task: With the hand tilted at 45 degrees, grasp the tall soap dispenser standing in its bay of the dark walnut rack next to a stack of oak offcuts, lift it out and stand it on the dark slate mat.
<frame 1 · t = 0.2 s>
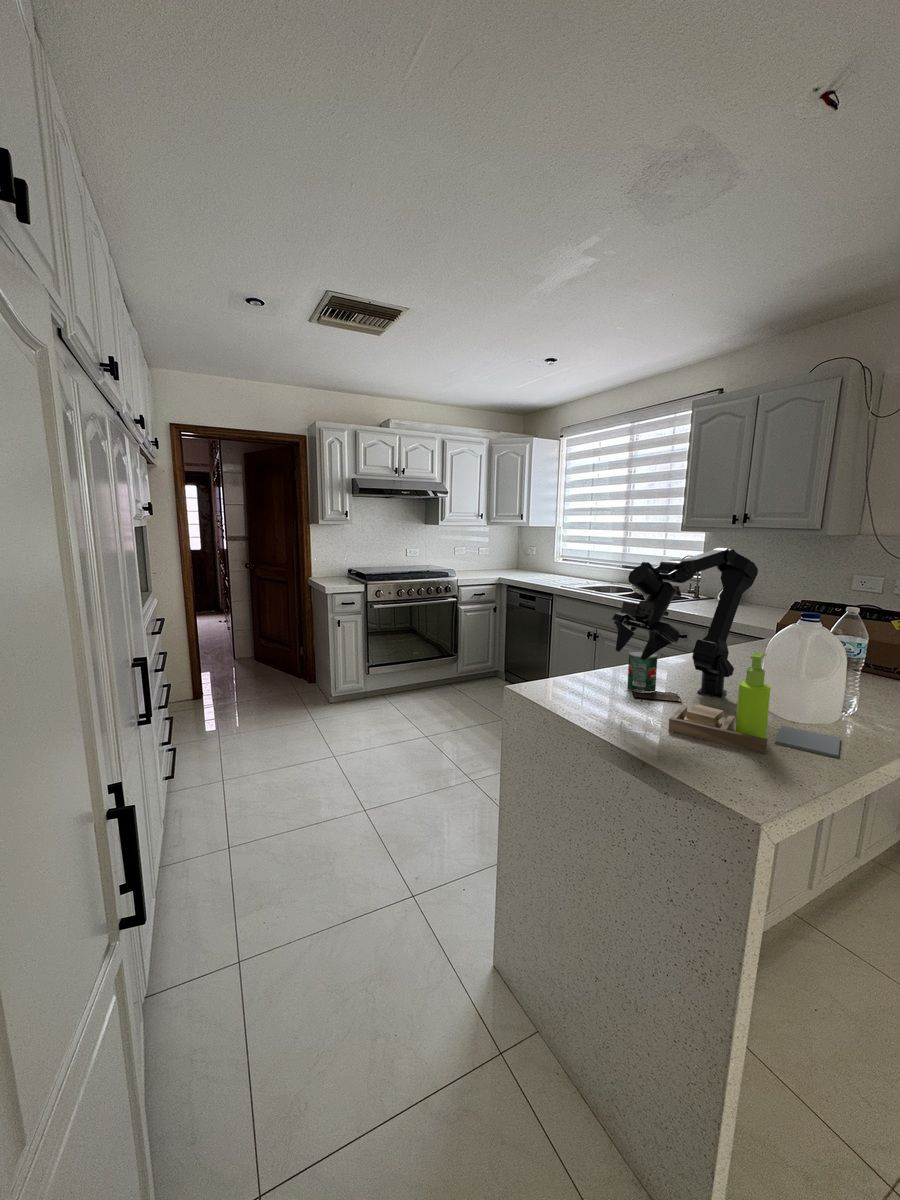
hand: (629, 655, 127), 15 cm above the table, tool tilted 35°, fingers open, 9 cm apart
slate mat: (807, 741, 109), on the table
soap dispenser: (750, 741, 110), on the table
offcut stack: (701, 729, 116), on the table
canned tomato: (641, 690, 145), on the table
walnut rack: (720, 733, 114), on the table
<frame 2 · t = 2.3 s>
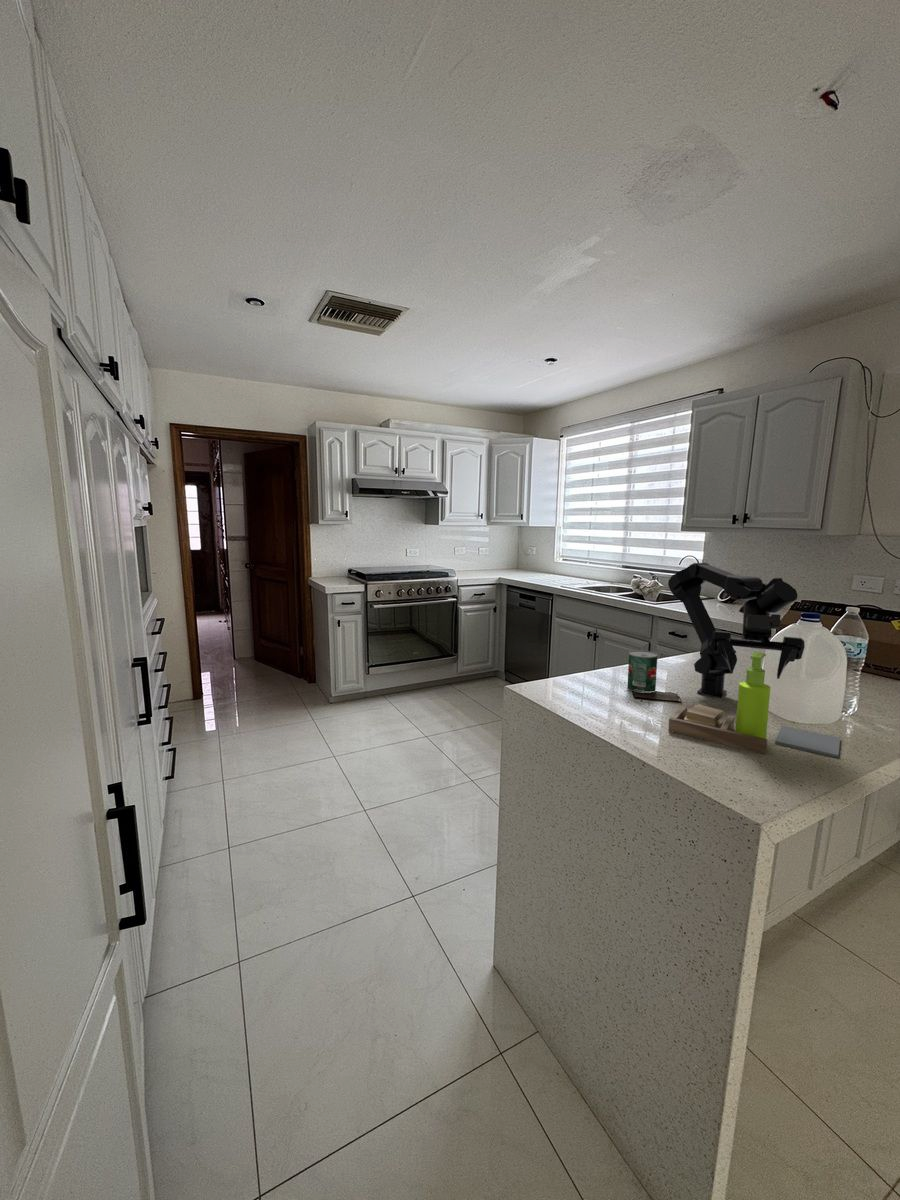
hand: (754, 675, 114), 13 cm above the table, tool tilted 45°, fingers open, 9 cm apart
nothing on the table moved.
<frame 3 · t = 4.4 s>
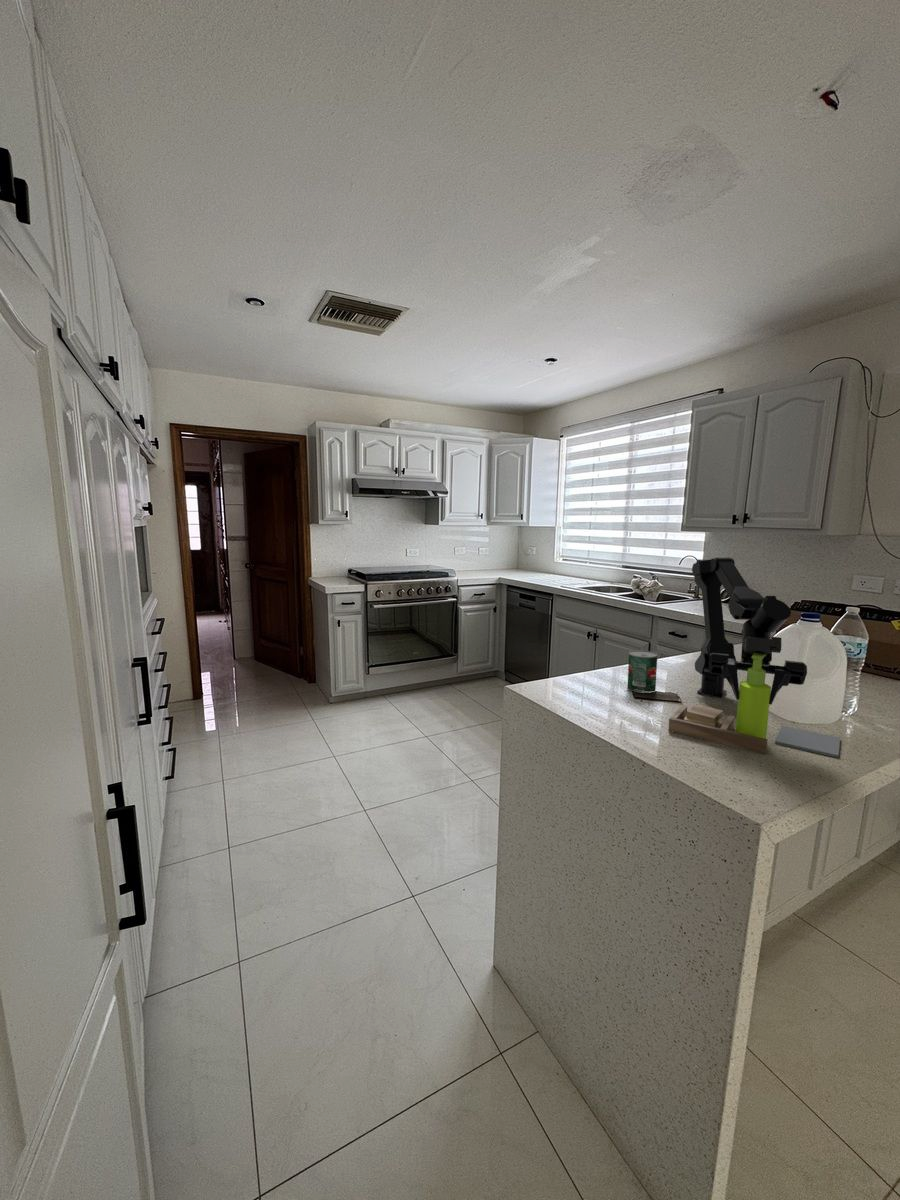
hand: (753, 701, 108), 10 cm above the table, tool tilted 45°, fingers closed on soap dispenser, 6 cm apart
soap dispenser: (750, 741, 110), on the table, touching gripper
everything else where it was.
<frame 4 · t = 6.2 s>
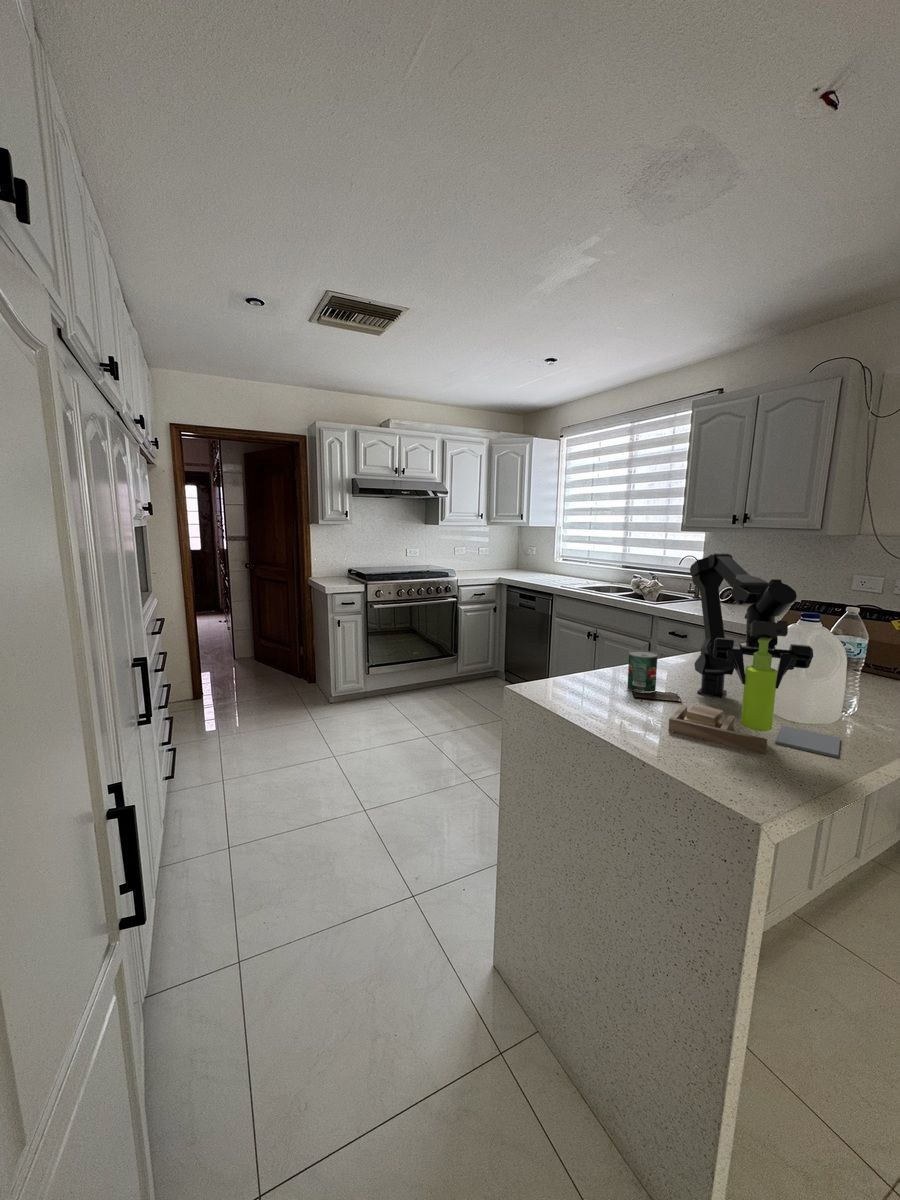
hand: (760, 685, 107), 13 cm above the table, tool tilted 45°, fingers closed on soap dispenser, 6 cm apart
soap dispenser: (756, 725, 110), point 3 cm above the table, touching gripper
everything else where it was.
when the fingers open (11 cm above the table, at t = 8.1 s): soap dispenser stays where it is, resting on slate mat.
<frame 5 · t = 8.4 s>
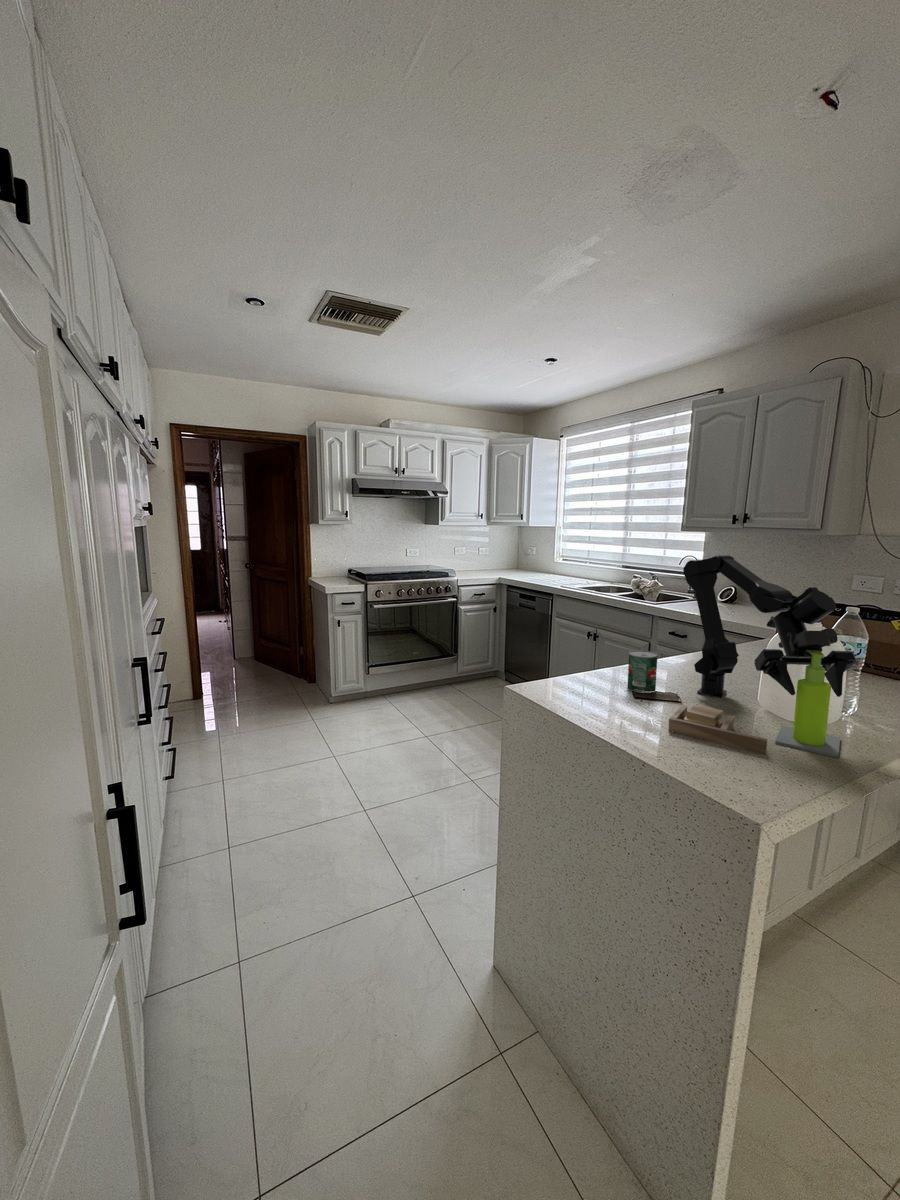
hand: (816, 695, 106), 11 cm above the table, tool tilted 45°, fingers open, 9 cm apart
soap dispenser: (807, 739, 109), resting on slate mat, touching gripper
everything else where it was.
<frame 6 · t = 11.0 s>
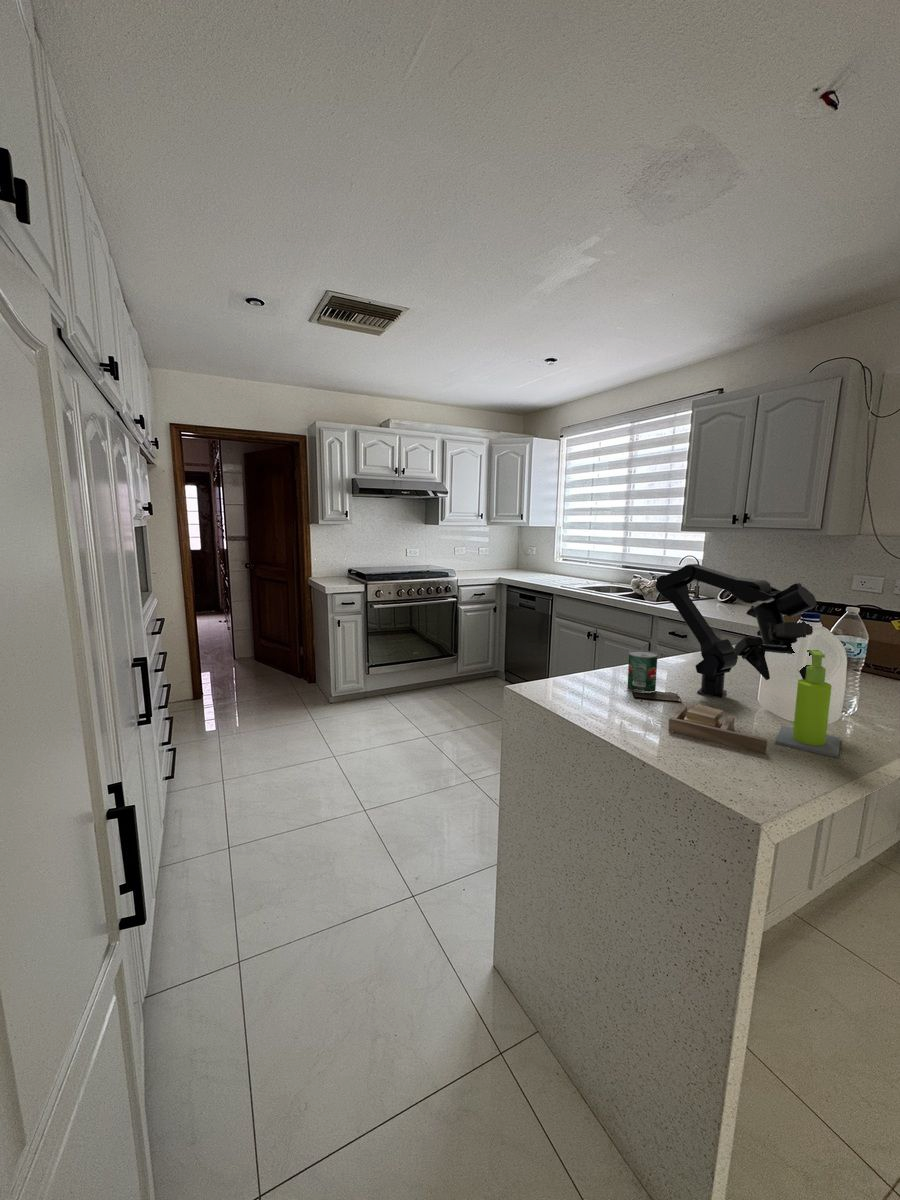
hand: (788, 681, 116), 11 cm above the table, tool tilted 40°, fingers open, 9 cm apart
soap dispenser: (807, 739, 109), resting on slate mat
everything else where it was.
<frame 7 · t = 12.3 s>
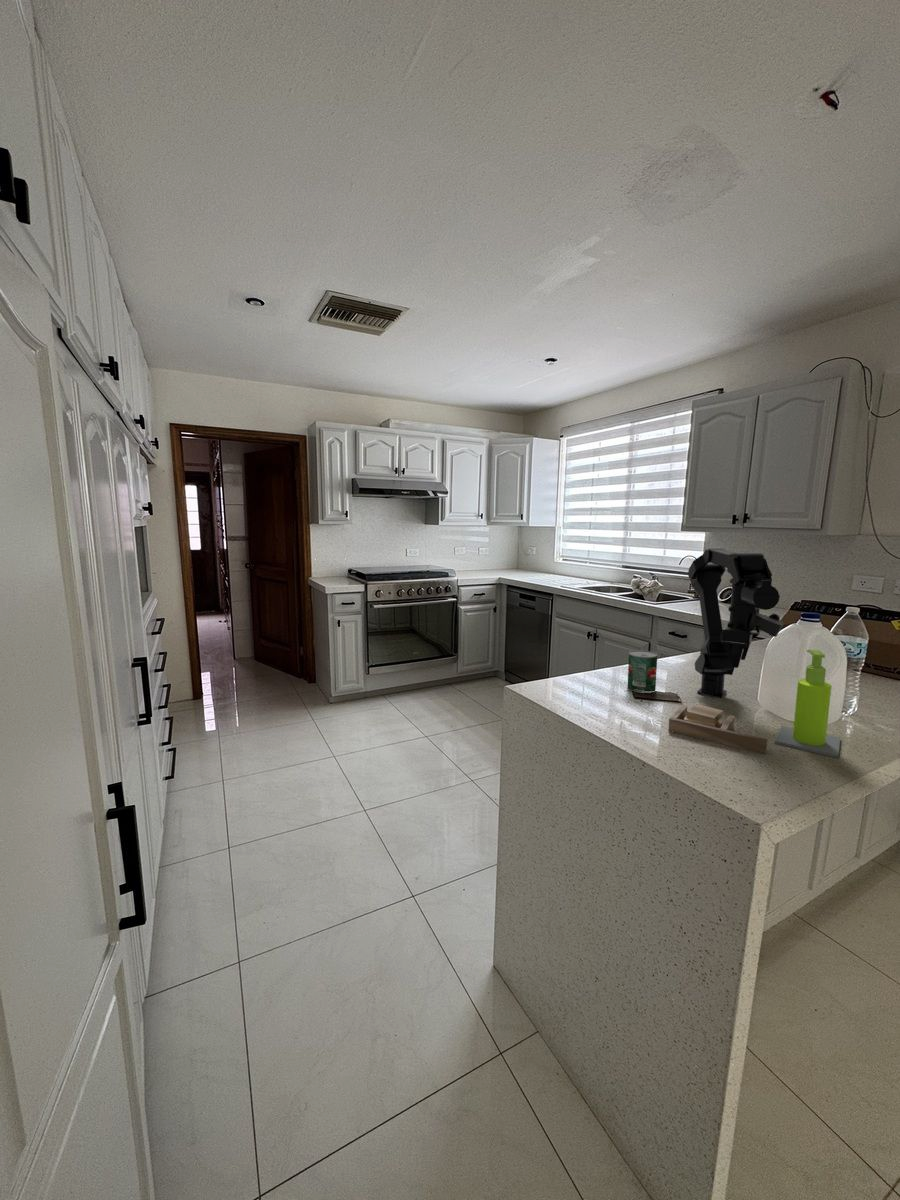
hand: (739, 663, 125), 13 cm above the table, tool pointing down, fingers open, 9 cm apart
nothing on the table moved.
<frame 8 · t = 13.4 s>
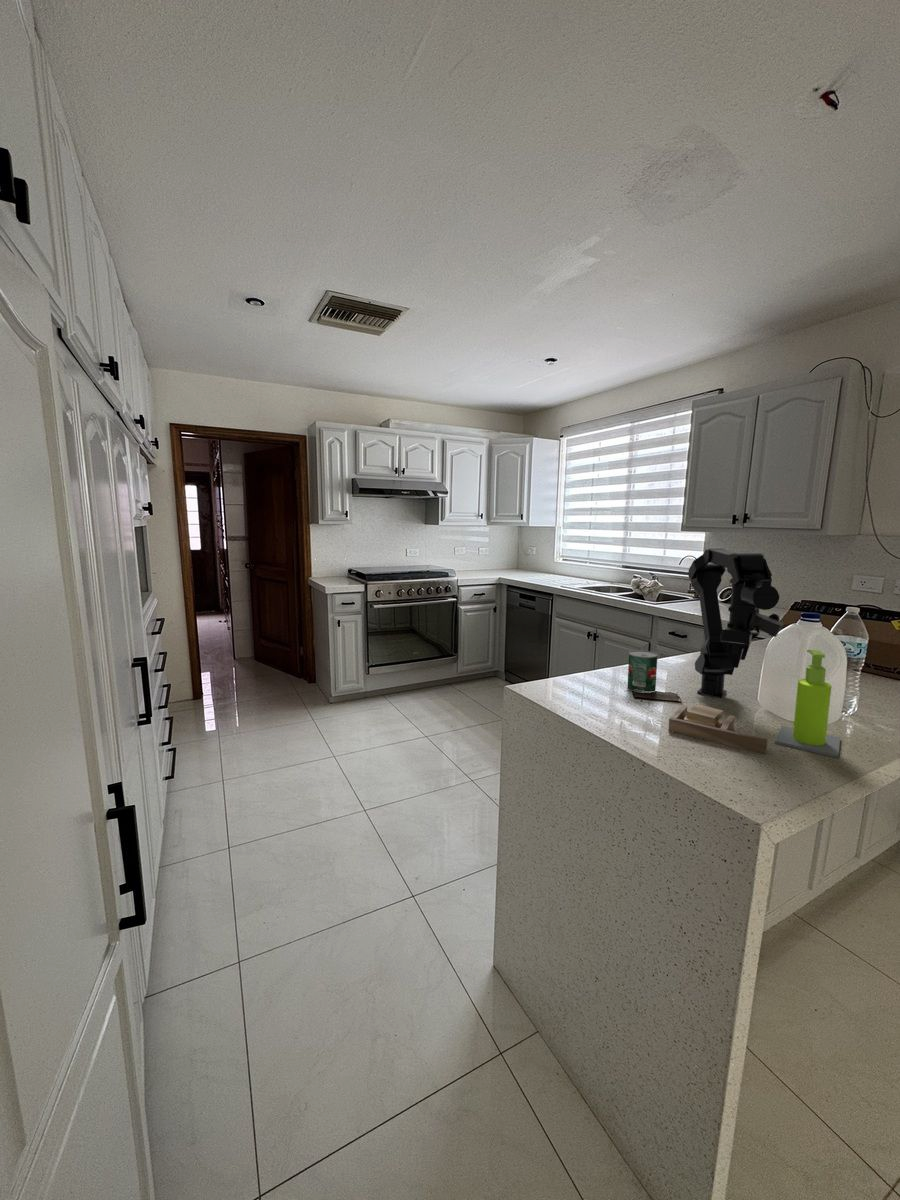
hand: (738, 663, 125), 13 cm above the table, tool pointing down, fingers open, 9 cm apart
nothing on the table moved.
at the end: soap dispenser inside the target area on the slate mat (0.2 cm from its centre), point 0.4 cm above the slate mat's base; soap dispenser tilted 0°; the gripper is holding nothing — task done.
